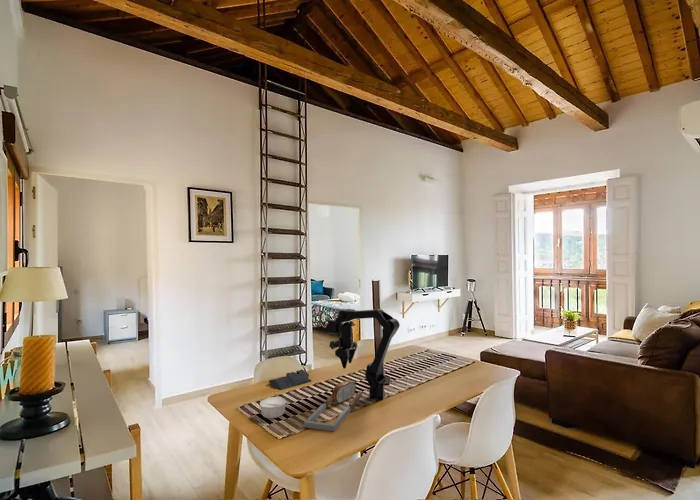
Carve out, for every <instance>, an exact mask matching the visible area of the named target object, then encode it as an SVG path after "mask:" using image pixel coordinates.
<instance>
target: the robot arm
mask: <svg viewBox="0 0 700 500" xmlns="http://www.w3.org/2000/svg"><path fill="white" fill-rule="evenodd" d="M358 319H359V320H360V319H361V320H362V319H376V321H378V324H379V325H380V326H381V327H382V329H381V334H382V335H381V339H380V342H379V344H378V347H377V351H376V353H375V356H374V358H373V361H372V362H370V363H368V364H367V365H366V369H365V370H364V373H365V376H364V377H365V379H366V381H367V384H368V386H369V387H368V388H369V389H368V390H369V391H368V392H369V393H368V395H369V399H371V400H380V401H382V400H384V398H385V397H386V394H385V383H386V381H387V377H386V376H385V375H384V374H383V362H384V360H385V357H386V355H387V351H388V349H389V346H390V345H391V342H392V339H393V337H394V336H395V335H396V333H397V331H398V330H399V329H400V322H399V321H398V319H397V318H394V317H392V315H391V314H388V313H387V312H386V311H384V310H383V309H381V308H378V309H362V310H355V309H350V308H347V309H343V310H339V312H338V313H337V317H336V318H335V320H333V319H329V320H328V321H327V324H326V327H325V331H326V333H327V334H334V335H339V334H340V335H339V337H338V339H337V340H331V341H330V342H329V343H328V345H329V346H328V347H329V348H330V349H331V350H334V349H336V350H335V351H334V355H335V356H336V357H338V359H339V360H340V363H341V366H342V368H343V369H345V370H346V368H347V365H348V364H352V362H353V359H354V357H355V353H356V351H357V349H358V343H357V341H353V338H354V335H352V333H353V332H352V330H353V329H352V328H353V327H354V326H356V323H354V321H353V320H358Z"/></svg>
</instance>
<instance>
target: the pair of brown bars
mask: <svg viewBox="0 0 700 500" xmlns="http://www.w3.org/2000/svg"><path fill="white" fill-rule="evenodd" d="M362 397H363V392H362V391H358V392H357V393H356V395H354V396H353V397H352V399H351V401H350V402H349V403H348V406H350V410H352V409H353V408H355V406H356V405H357V403H358V402H359V401H360V400H361V398H362ZM333 402H334V401H333V399H332V394H331V395H330V396H329V397H327V399H325V401H324V403H325V404H326V407H329V406H330V405H331V404H332V403H333ZM355 404H356V405H355Z"/></svg>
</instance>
